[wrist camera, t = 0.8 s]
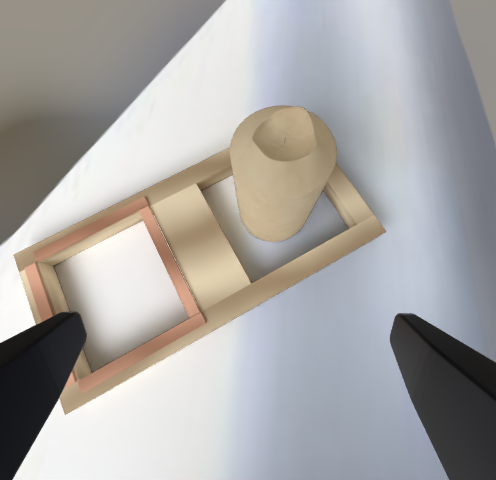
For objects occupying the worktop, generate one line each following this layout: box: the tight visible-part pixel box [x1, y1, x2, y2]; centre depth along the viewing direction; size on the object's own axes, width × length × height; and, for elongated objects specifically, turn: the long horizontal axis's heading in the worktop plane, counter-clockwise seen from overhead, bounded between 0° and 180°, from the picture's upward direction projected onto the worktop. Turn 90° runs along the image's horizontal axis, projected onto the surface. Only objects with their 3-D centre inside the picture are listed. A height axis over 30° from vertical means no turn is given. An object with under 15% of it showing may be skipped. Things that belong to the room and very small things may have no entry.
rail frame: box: [14, 148, 386, 415], centre depth 21 cm, size 12×25×2 cm, turn 119°
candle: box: [230, 106, 337, 242], centre depth 17 cm, size 6×6×10 cm
